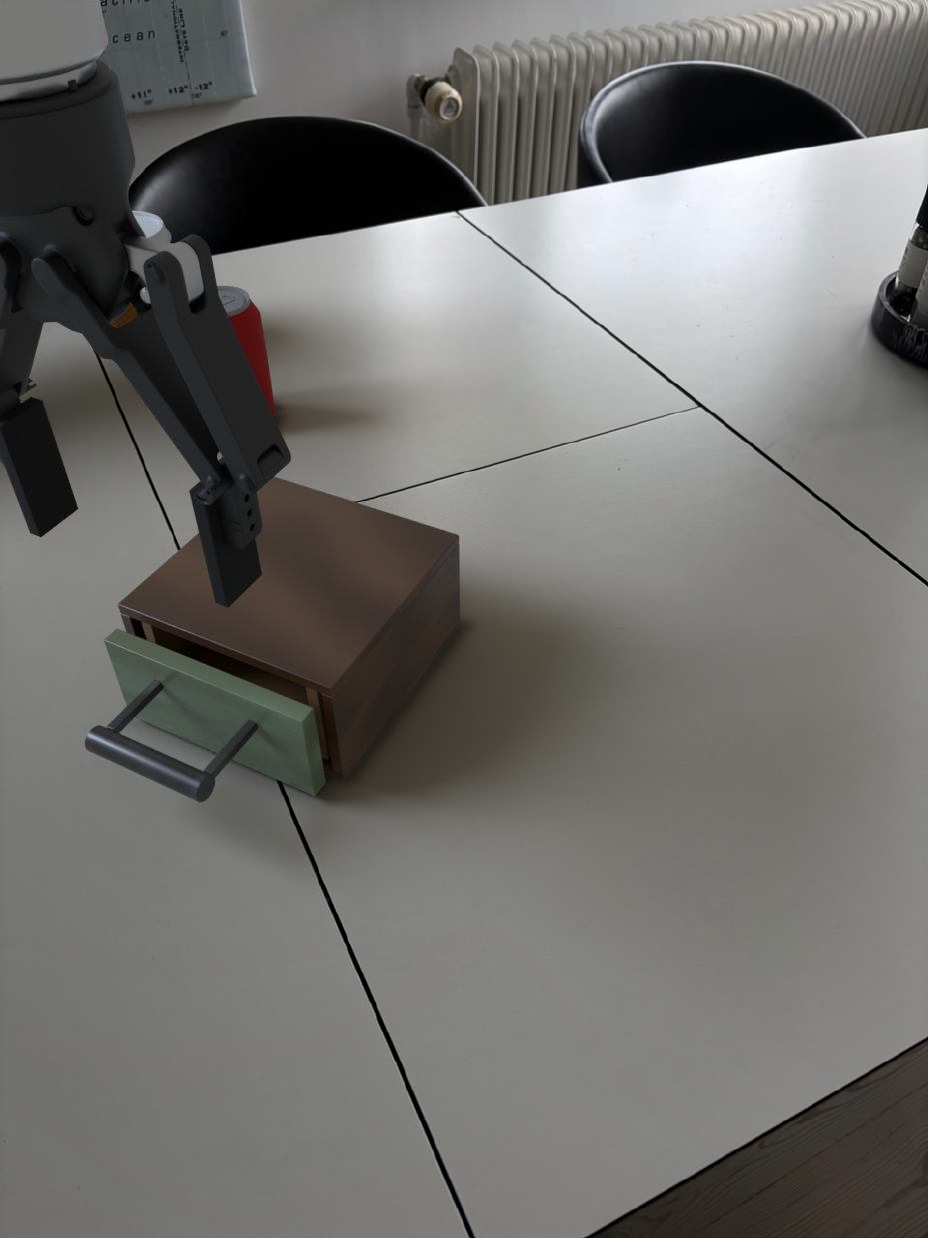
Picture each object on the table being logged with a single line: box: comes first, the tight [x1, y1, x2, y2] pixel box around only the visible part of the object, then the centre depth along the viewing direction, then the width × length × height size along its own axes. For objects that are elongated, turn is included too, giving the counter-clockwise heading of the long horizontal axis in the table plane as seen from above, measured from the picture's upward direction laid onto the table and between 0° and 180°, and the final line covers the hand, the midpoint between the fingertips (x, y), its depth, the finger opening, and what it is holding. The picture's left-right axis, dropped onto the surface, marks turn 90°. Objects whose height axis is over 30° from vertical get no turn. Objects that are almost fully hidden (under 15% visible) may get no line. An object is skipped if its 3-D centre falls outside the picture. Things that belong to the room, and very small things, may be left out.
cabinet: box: [117, 476, 461, 781], centre depth 67 cm, size 16×16×9 cm
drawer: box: [84, 622, 331, 803], centre depth 63 cm, size 20×14×7 cm
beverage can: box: [217, 285, 276, 417], centre depth 88 cm, size 7×7×12 cm
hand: (143, 553), depth 50 cm, fingers open, 11 cm apart
